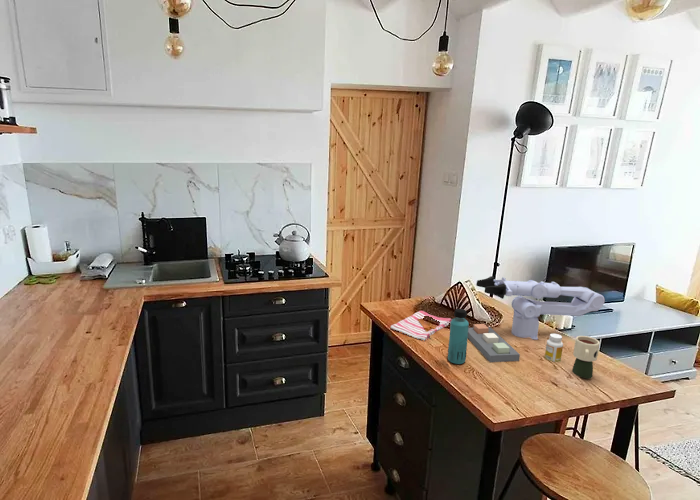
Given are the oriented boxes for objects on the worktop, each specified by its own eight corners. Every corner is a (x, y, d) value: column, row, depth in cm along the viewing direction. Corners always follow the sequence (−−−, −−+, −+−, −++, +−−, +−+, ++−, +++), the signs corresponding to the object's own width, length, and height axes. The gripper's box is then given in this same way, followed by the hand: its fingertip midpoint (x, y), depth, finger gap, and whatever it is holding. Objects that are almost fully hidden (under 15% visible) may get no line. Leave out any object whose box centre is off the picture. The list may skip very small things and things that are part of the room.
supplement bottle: (559, 358, 163) (563, 333, 161) (561, 365, 158) (565, 339, 156) (543, 356, 165) (547, 331, 162) (544, 362, 160) (548, 337, 158)
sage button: (503, 350, 163) (504, 342, 162) (508, 355, 159) (509, 347, 158) (492, 350, 162) (493, 343, 162) (497, 356, 158) (498, 348, 158)
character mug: (594, 385, 145) (600, 348, 142) (570, 380, 148) (575, 344, 145) (593, 370, 155) (599, 336, 152) (570, 366, 158) (575, 331, 155)
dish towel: (452, 325, 191) (453, 318, 190) (424, 343, 174) (425, 334, 173) (418, 315, 202) (419, 308, 201) (388, 330, 185) (389, 322, 184)
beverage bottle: (455, 369, 153) (460, 315, 148) (442, 361, 159) (447, 308, 154) (469, 365, 156) (474, 312, 151) (457, 357, 162) (461, 305, 157)
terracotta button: (483, 331, 179) (484, 324, 179) (487, 335, 175) (488, 328, 175) (473, 331, 179) (474, 324, 178) (477, 335, 175) (478, 328, 174)
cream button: (492, 340, 171) (493, 332, 170) (497, 344, 167) (498, 337, 166) (482, 340, 171) (483, 333, 170) (487, 345, 166) (487, 337, 166)
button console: (489, 335, 182) (490, 327, 181) (518, 363, 159) (519, 354, 158) (463, 335, 180) (464, 327, 179) (489, 364, 157) (490, 355, 156)
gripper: (506, 272, 182) (475, 271, 180) (524, 284, 168) (490, 282, 166) (503, 289, 184) (472, 287, 181) (521, 302, 170) (487, 300, 168)
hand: (480, 286), depth 174 cm, fingers open, 7 cm apart
